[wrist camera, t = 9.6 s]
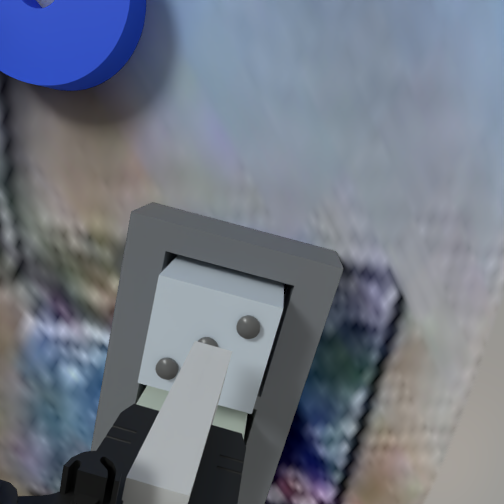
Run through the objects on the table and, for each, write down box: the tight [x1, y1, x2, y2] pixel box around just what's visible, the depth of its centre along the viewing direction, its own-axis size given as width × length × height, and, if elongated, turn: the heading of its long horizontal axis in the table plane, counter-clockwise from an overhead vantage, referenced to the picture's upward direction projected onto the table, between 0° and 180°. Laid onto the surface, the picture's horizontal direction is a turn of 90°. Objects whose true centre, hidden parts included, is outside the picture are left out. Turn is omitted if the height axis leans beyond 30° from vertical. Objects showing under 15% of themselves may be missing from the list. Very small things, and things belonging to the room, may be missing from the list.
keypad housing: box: [91, 202, 343, 504], centre depth 23 cm, size 10×23×3 cm, turn 166°
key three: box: [138, 255, 284, 414], centre depth 19 cm, size 5×5×4 cm
